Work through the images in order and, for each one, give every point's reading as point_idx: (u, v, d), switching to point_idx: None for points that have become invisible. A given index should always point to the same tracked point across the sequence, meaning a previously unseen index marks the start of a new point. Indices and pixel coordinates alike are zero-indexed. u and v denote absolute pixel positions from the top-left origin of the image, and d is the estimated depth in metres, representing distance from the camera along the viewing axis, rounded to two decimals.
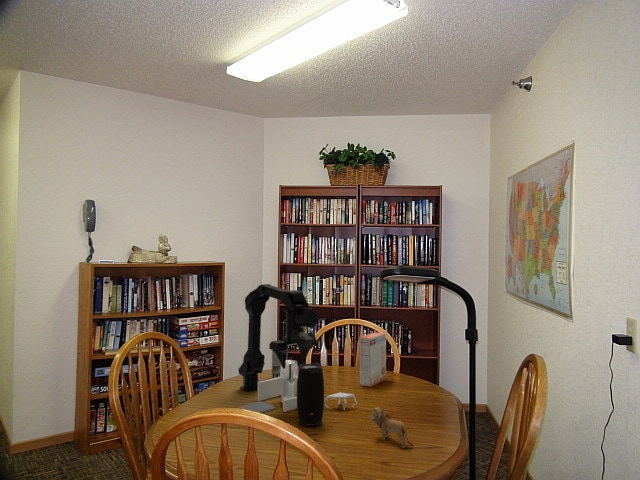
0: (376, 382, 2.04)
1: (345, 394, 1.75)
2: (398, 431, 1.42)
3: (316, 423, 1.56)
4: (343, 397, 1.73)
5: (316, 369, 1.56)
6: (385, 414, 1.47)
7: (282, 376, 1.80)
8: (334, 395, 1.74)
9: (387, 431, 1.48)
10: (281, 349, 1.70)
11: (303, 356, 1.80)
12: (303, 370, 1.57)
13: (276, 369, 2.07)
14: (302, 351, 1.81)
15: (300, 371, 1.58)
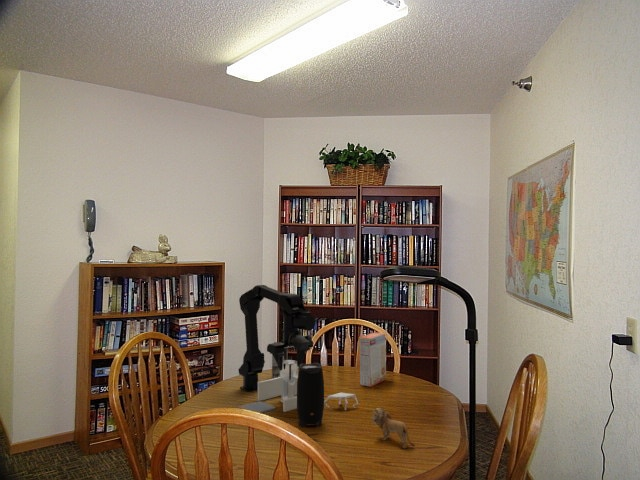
0: (376, 382, 2.04)
1: (346, 394, 1.76)
2: (399, 431, 1.41)
3: (316, 423, 1.56)
4: (344, 397, 1.73)
5: (316, 369, 1.56)
6: (386, 414, 1.47)
7: (282, 376, 1.80)
8: (335, 395, 1.74)
9: (388, 431, 1.48)
10: (278, 351, 1.74)
11: (300, 358, 1.85)
12: (303, 370, 1.57)
13: (276, 369, 2.07)
14: (299, 353, 1.86)
15: (300, 371, 1.58)
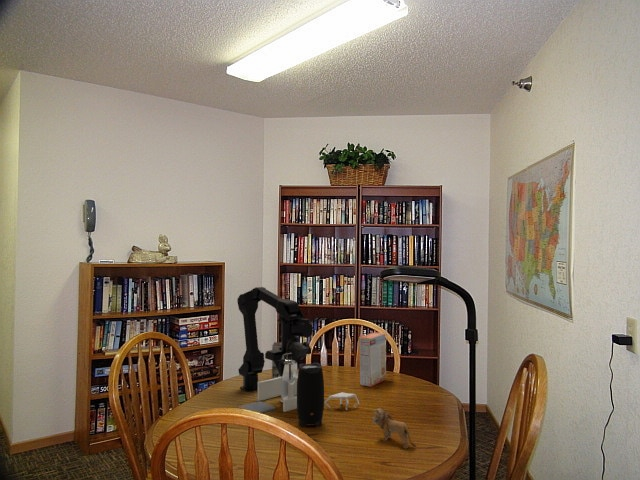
0: (376, 382, 2.04)
1: (347, 394, 1.76)
2: (400, 432, 1.41)
3: (316, 423, 1.56)
4: (345, 397, 1.73)
5: (316, 369, 1.56)
6: (387, 415, 1.47)
7: (282, 376, 1.80)
8: (336, 395, 1.74)
9: (389, 432, 1.48)
10: (276, 358, 1.75)
11: None
12: (303, 370, 1.57)
13: (276, 369, 2.07)
14: (295, 360, 1.86)
15: (300, 371, 1.58)
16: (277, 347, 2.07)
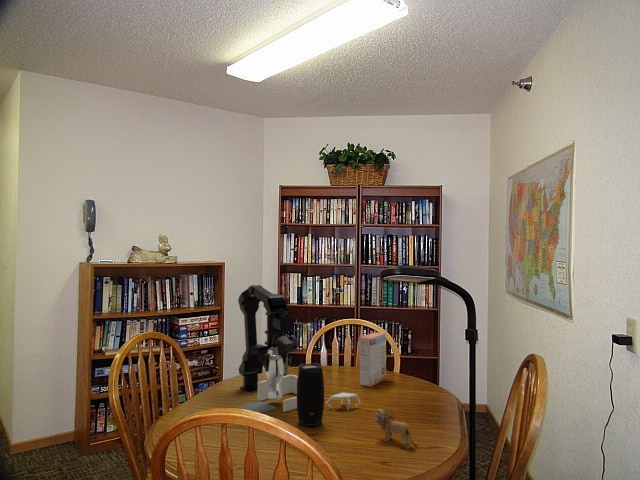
0: (376, 382, 2.04)
1: (348, 394, 1.76)
2: (402, 432, 1.40)
3: (316, 423, 1.56)
4: (347, 397, 1.73)
5: (316, 369, 1.56)
6: (389, 415, 1.46)
7: (267, 372, 1.76)
8: (337, 395, 1.74)
9: (390, 432, 1.47)
10: (261, 353, 1.71)
11: None
12: (303, 370, 1.57)
13: None
14: (281, 355, 1.82)
15: (300, 371, 1.58)
16: None
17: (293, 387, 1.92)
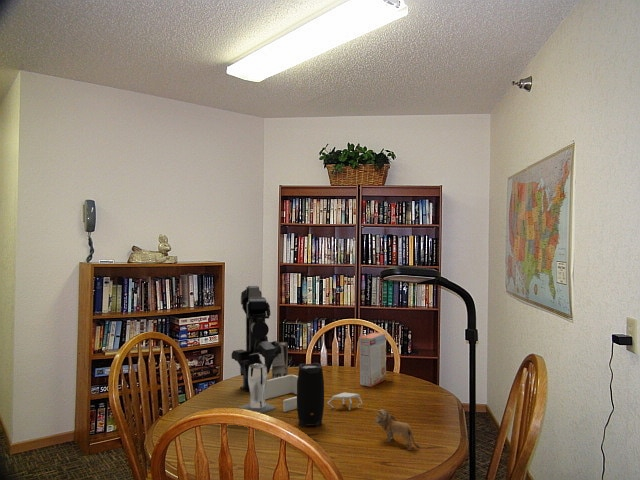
0: (376, 382, 2.04)
1: (350, 394, 1.76)
2: (404, 433, 1.40)
3: (316, 423, 1.56)
4: (348, 397, 1.73)
5: (316, 369, 1.56)
6: (390, 416, 1.46)
7: (250, 381, 1.72)
8: (339, 395, 1.74)
9: (392, 433, 1.47)
10: (243, 359, 1.66)
11: (267, 365, 1.77)
12: (303, 370, 1.57)
13: (276, 369, 2.07)
14: (266, 360, 1.78)
15: (300, 371, 1.58)
16: None
17: (293, 387, 1.92)
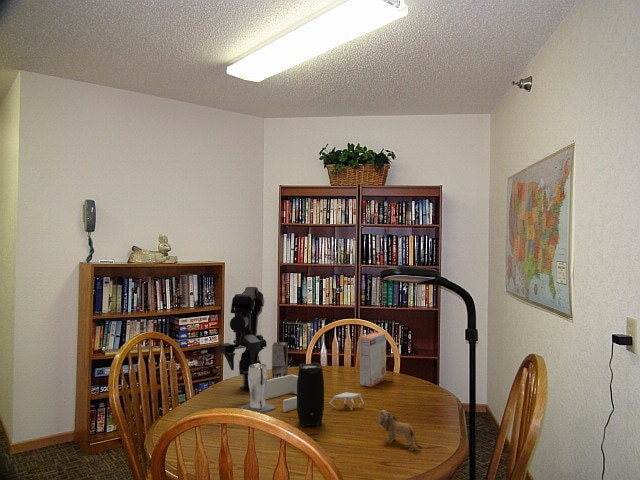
0: (376, 382, 2.04)
1: (351, 394, 1.76)
2: (406, 434, 1.40)
3: (316, 423, 1.56)
4: (350, 397, 1.73)
5: (316, 369, 1.56)
6: (392, 416, 1.45)
7: (250, 381, 1.72)
8: (341, 395, 1.74)
9: (394, 434, 1.46)
10: (228, 351, 1.73)
11: (253, 358, 1.84)
12: (303, 370, 1.57)
13: (276, 369, 2.07)
14: (252, 353, 1.85)
15: (300, 371, 1.58)
16: (277, 347, 2.07)
17: (293, 387, 1.92)
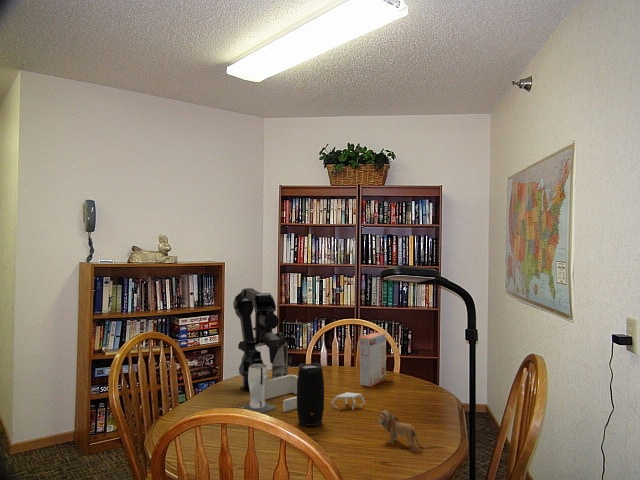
0: (376, 382, 2.04)
1: (353, 394, 1.76)
2: (408, 434, 1.39)
3: (316, 423, 1.56)
4: (352, 397, 1.73)
5: (316, 369, 1.56)
6: (394, 417, 1.45)
7: (250, 381, 1.72)
8: (342, 395, 1.74)
9: (395, 434, 1.46)
10: (249, 349, 1.78)
11: (272, 355, 1.88)
12: (303, 370, 1.57)
13: (276, 369, 2.07)
14: (271, 351, 1.89)
15: (300, 371, 1.58)
16: None
17: (293, 387, 1.92)
